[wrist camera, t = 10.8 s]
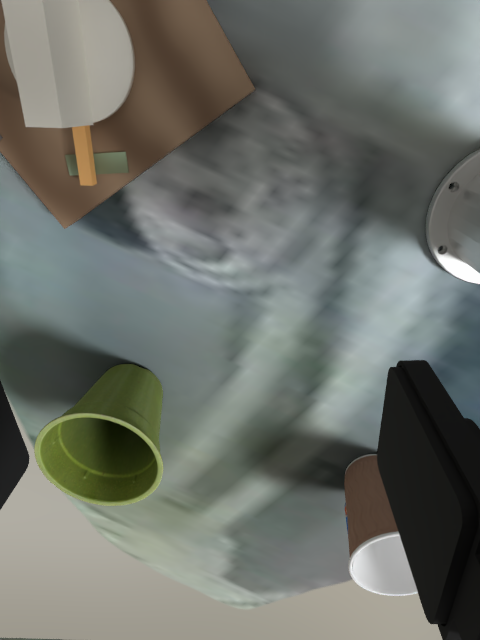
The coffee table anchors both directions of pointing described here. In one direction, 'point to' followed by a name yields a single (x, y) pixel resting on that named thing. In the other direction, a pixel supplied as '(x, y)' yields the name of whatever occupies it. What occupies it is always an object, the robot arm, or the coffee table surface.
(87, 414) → the plant pot
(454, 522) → the robot arm
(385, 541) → the coffee cup
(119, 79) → the dial knob
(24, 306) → the coffee table surface
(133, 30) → the dial board
